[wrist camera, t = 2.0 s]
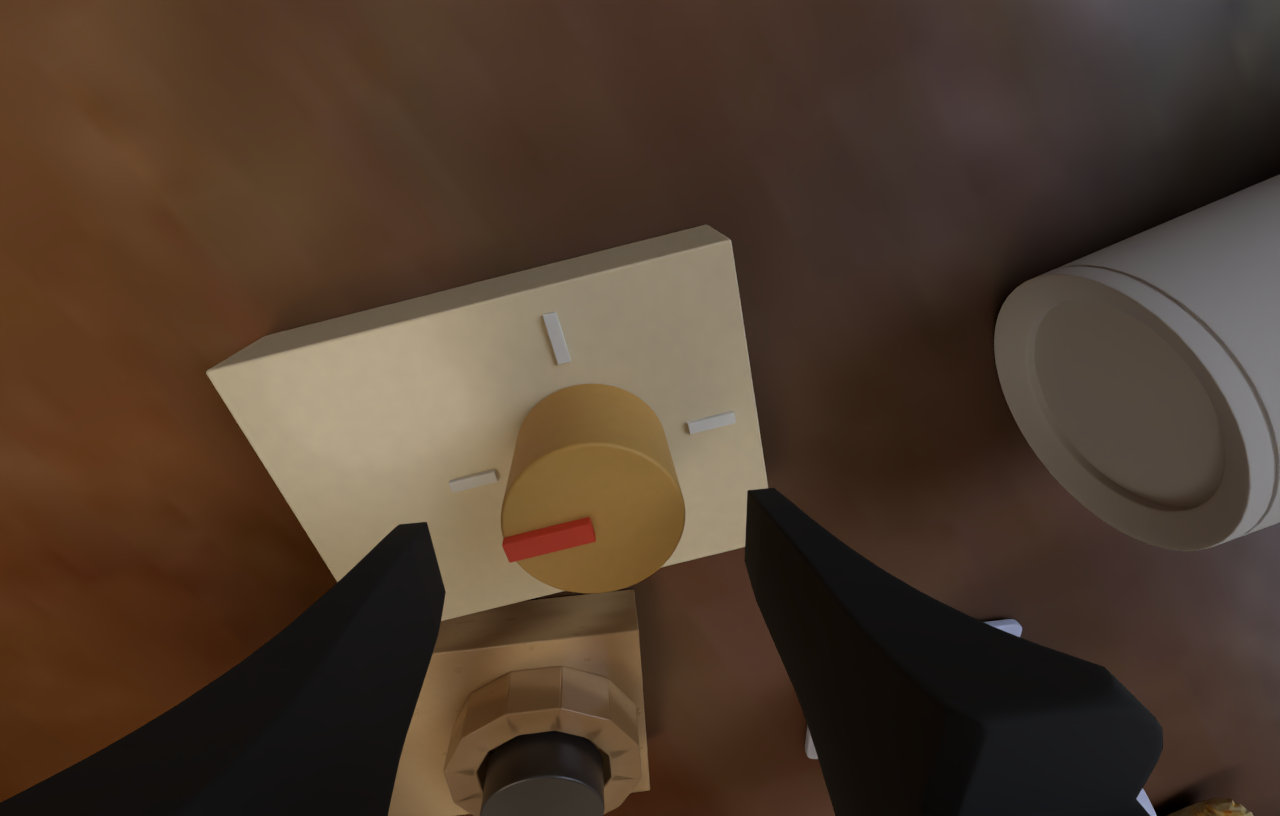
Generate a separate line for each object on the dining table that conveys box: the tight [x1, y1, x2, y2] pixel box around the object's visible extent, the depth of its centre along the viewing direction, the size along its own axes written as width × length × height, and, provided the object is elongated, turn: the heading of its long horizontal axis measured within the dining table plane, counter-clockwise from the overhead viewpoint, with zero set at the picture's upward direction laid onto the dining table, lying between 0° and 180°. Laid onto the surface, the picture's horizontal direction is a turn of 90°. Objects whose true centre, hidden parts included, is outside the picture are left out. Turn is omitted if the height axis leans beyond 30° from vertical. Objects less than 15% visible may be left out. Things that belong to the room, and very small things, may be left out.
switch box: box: [388, 589, 650, 816], centre depth 23 cm, size 12×10×4 cm
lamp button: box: [480, 731, 605, 816], centre depth 21 cm, size 4×4×2 cm
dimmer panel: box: [206, 225, 768, 621], centre depth 18 cm, size 14×10×3 cm
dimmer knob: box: [501, 384, 685, 594], centre depth 15 cm, size 4×4×4 cm
